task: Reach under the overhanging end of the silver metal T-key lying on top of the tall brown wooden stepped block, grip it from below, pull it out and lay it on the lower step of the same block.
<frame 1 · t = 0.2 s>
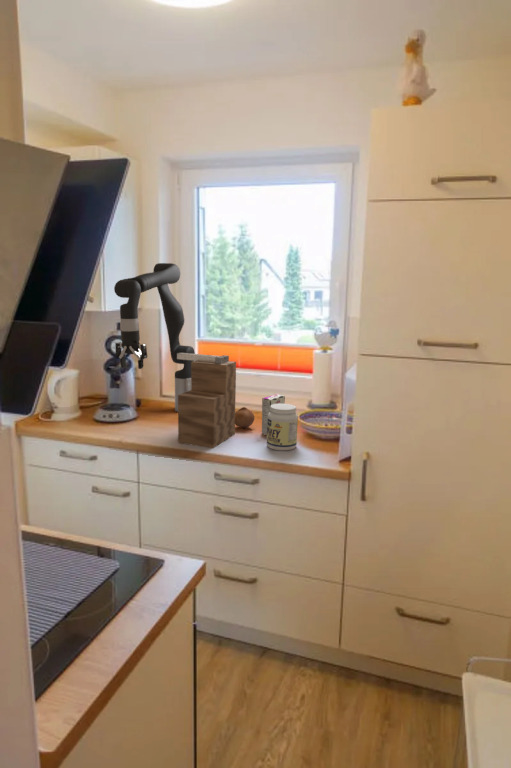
hand: (132, 367, 213), 29 cm above the countertop, tool pointing down, fingers open, 8 cm apart
candy bar box: (272, 432, 226), on the countertop
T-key: (201, 360, 215), point 32 cm above the countertop, touching brown wooden stepped block
brown wooden stepped block: (207, 438, 215), on the countertop
supplement tub: (281, 447, 206), on the countertop
onion: (243, 428, 231), on the countertop
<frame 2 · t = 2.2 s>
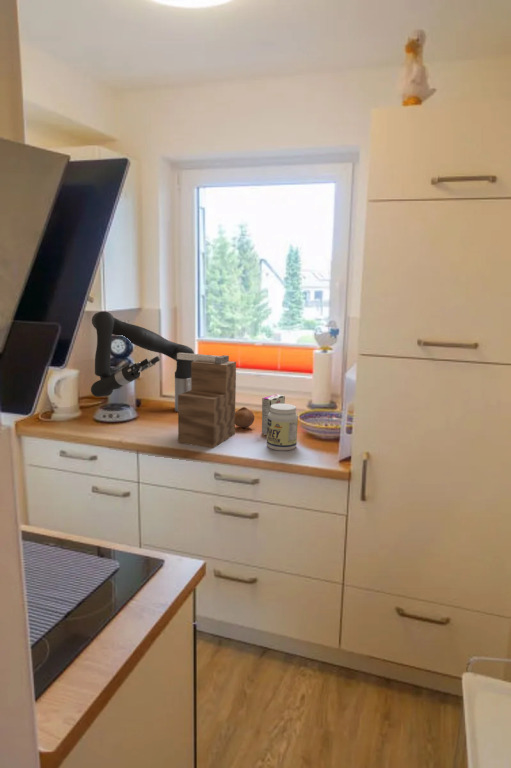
hand: (153, 359, 224), 31 cm above the countertop, tool pointing upward, fingers open, 8 cm apart
nothing on the countertop moved.
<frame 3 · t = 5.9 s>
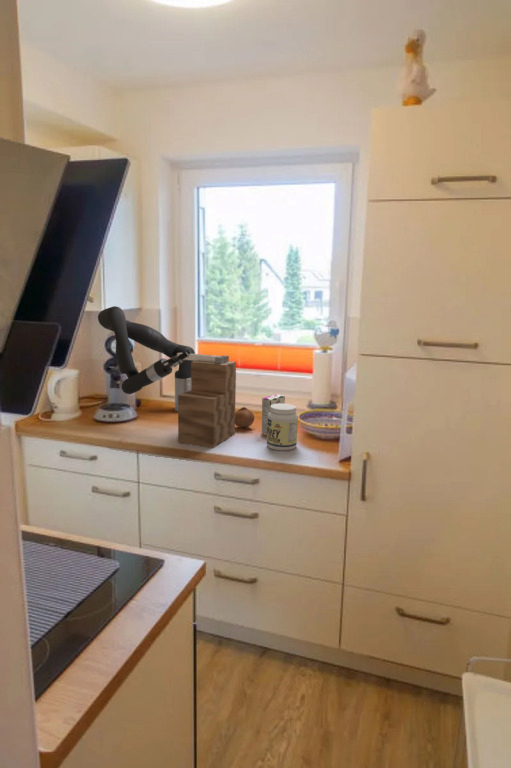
hand: (188, 353, 217), 35 cm above the countertop, tool pointing upward, fingers closed on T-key, 2 cm apart
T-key: (201, 360, 215), point 32 cm above the countertop, touching gripper
everything else where it was.
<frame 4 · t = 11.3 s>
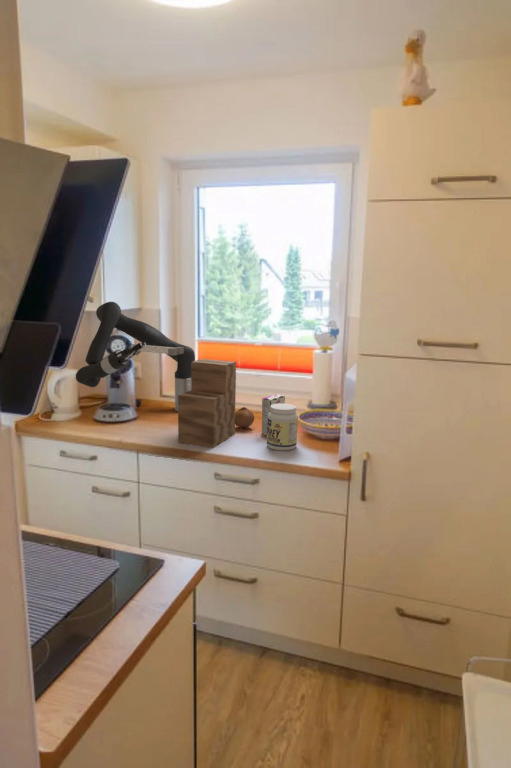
hand: (143, 344, 211), 39 cm above the countertop, tool pointing upward, fingers closed on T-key, 2 cm apart
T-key: (155, 352, 210), point 36 cm above the countertop, touching gripper
everything else where it was.
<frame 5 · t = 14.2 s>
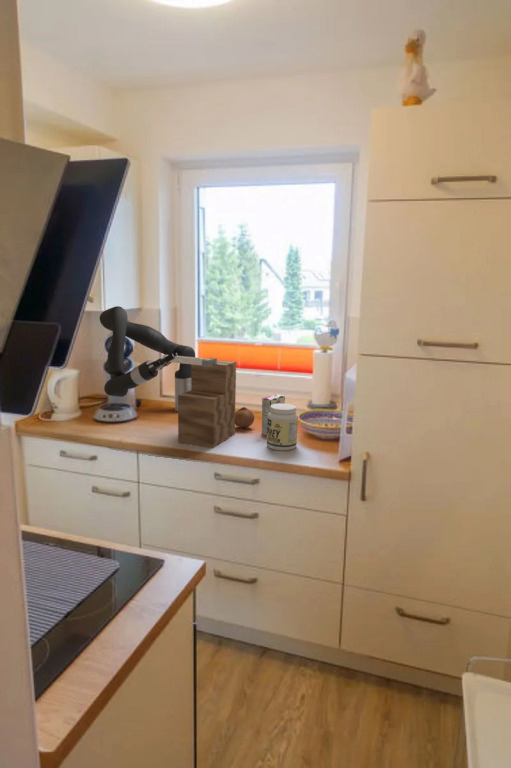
hand: (175, 355, 206), 35 cm above the countertop, tool pointing upward, fingers closed on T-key, 2 cm apart
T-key: (187, 363, 205), point 32 cm above the countertop, touching gripper
everything else where it was.
when the fingers open (25 cm above the countertop, at t = 16.5 s): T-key drops 3 cm, resting on brown wooden stepped block.
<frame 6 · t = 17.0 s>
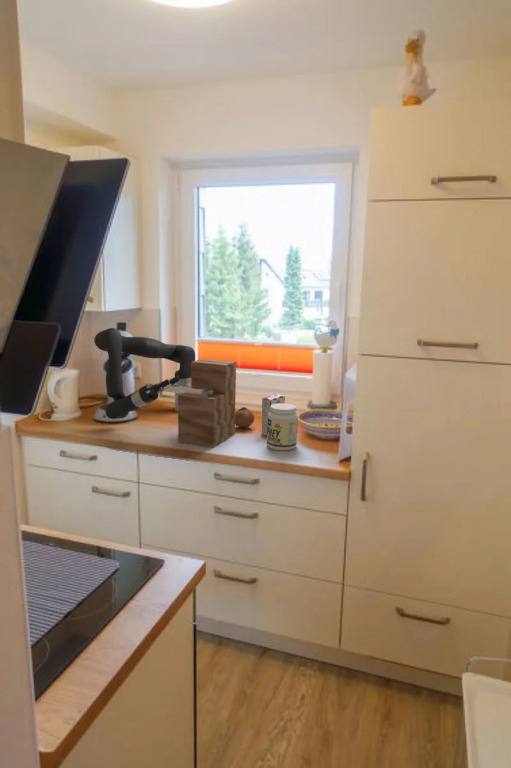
hand: (173, 379, 209), 25 cm above the countertop, tool pointing upward, fingers open, 7 cm apart
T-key: (187, 393, 207), point 20 cm above the countertop, touching brown wooden stepped block
everything else where it was.
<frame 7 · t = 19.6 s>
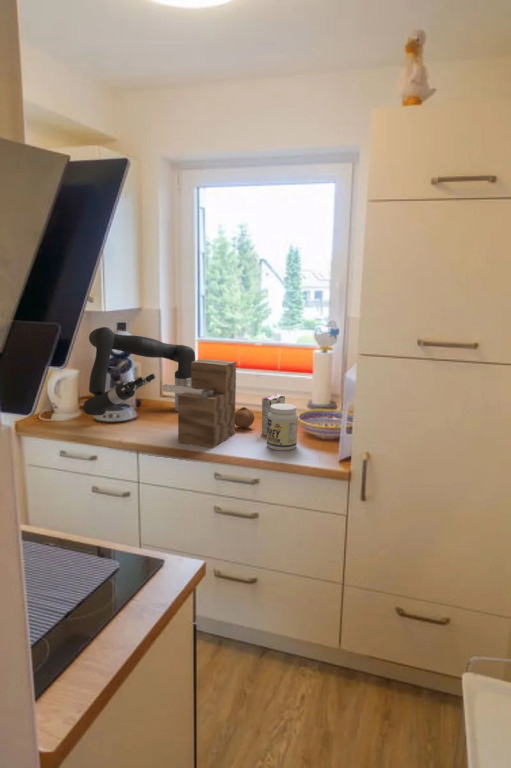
hand: (148, 377, 213), 25 cm above the countertop, tool pointing upward, fingers open, 8 cm apart
nothing on the countertop moved.
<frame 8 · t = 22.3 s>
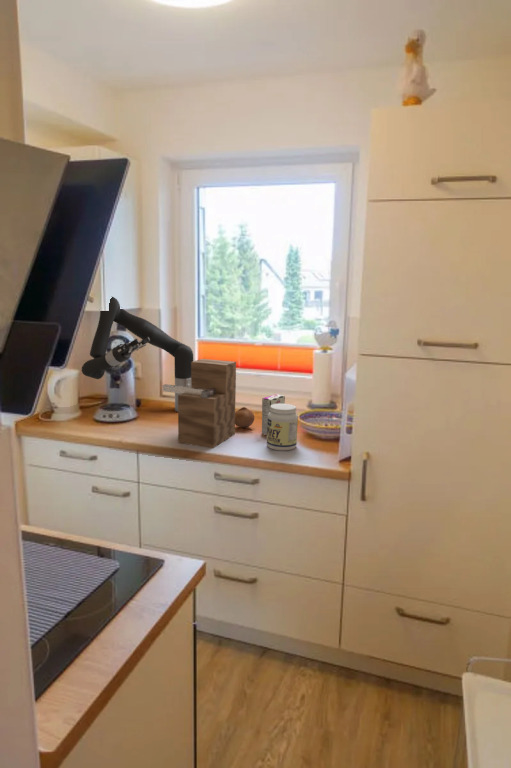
hand: (143, 339, 225), 39 cm above the countertop, tool pointing upward, fingers open, 8 cm apart
nothing on the countertop moved.
at the end: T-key inside the target area (0.7 cm from its centre), point 20.0 cm above the countertop; the gripper is holding nothing; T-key tilted 0° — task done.
